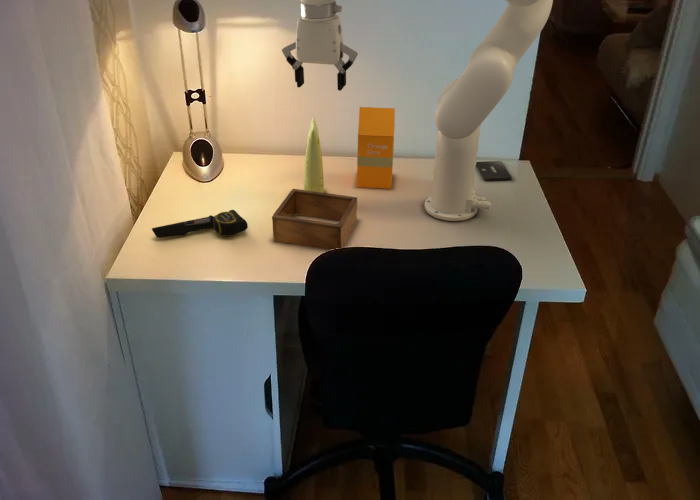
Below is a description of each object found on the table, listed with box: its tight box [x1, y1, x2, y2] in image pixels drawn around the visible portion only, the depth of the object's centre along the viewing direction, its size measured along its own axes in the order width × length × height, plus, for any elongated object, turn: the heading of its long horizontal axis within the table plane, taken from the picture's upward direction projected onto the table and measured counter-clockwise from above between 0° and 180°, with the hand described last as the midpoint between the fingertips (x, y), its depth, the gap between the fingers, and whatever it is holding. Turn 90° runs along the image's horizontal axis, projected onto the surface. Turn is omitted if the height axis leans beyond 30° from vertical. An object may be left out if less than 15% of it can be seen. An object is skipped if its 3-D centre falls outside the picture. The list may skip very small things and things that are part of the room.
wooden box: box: [271, 188, 358, 251], centre depth 157 cm, size 16×14×6 cm
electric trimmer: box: [151, 214, 217, 239], centre depth 157 cm, size 4×16×3 cm, turn 112°
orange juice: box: [356, 106, 396, 190], centre depth 174 cm, size 8×9×20 cm
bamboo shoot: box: [303, 114, 325, 193], centre depth 168 cm, size 6×5×20 cm
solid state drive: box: [476, 160, 513, 182], centre depth 185 cm, size 7×10×1 cm
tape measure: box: [213, 209, 249, 237], centre depth 157 cm, size 7×7×4 cm
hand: (320, 87), depth 159 cm, fingers open, 9 cm apart
